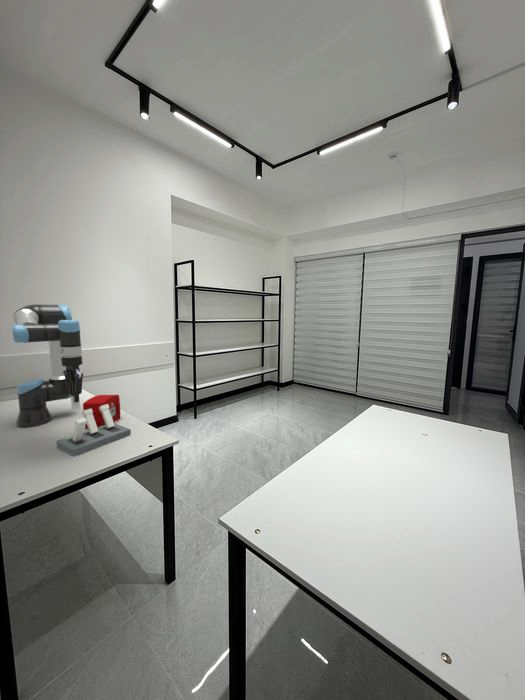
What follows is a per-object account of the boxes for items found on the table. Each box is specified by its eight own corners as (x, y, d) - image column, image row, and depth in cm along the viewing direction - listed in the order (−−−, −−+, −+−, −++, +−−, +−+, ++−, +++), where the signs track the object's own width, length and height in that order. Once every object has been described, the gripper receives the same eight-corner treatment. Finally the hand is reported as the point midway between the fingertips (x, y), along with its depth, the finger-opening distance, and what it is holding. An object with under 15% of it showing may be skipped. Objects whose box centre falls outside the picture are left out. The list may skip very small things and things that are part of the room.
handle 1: (89, 434, 136) (81, 412, 138) (97, 432, 139) (89, 409, 141) (91, 433, 135) (83, 410, 137) (99, 430, 138) (91, 408, 140)
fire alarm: (105, 429, 150) (103, 401, 148) (84, 429, 150) (82, 401, 148) (121, 418, 166) (119, 393, 164) (102, 418, 166) (100, 393, 164)
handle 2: (106, 429, 143) (98, 407, 145) (113, 426, 146) (106, 405, 148) (108, 427, 141) (100, 405, 143) (115, 425, 144) (108, 404, 146)
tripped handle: (71, 438, 129) (75, 419, 124) (80, 436, 132) (84, 417, 127) (74, 442, 128) (78, 423, 123) (82, 439, 131) (87, 420, 126)
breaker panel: (56, 446, 131) (56, 440, 130) (113, 427, 152) (112, 422, 152) (73, 456, 122) (73, 449, 122) (130, 435, 144) (130, 429, 143)
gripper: (54, 355, 124) (59, 408, 128) (69, 358, 117) (73, 414, 121) (73, 353, 131) (78, 403, 134) (88, 356, 124) (92, 409, 127)
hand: (76, 408), depth 127 cm, fingers closed
